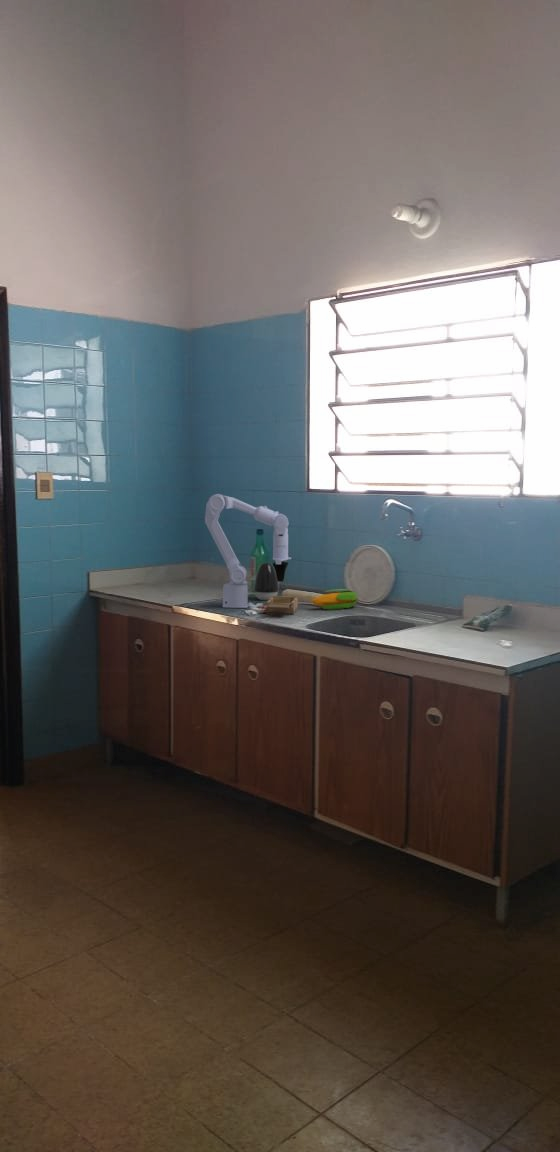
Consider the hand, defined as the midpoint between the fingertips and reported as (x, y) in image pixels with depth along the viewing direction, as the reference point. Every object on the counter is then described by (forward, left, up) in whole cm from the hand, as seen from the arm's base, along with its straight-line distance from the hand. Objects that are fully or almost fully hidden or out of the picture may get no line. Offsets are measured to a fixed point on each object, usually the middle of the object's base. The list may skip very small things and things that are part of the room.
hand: (280, 581), depth 351 cm
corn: (+21, -1, -10) cm, 23 cm away
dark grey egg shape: (-8, +19, -10) cm, 23 cm away
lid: (+2, -19, -7) cm, 20 cm away
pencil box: (+2, -10, -10) cm, 14 cm away
